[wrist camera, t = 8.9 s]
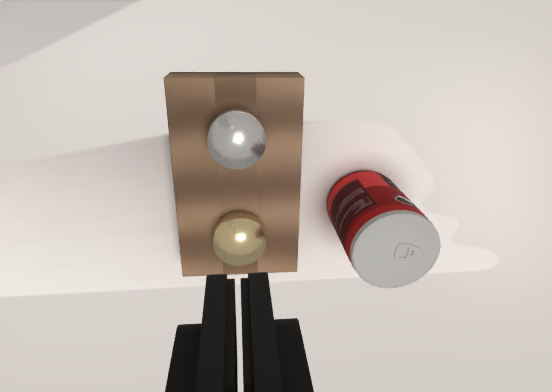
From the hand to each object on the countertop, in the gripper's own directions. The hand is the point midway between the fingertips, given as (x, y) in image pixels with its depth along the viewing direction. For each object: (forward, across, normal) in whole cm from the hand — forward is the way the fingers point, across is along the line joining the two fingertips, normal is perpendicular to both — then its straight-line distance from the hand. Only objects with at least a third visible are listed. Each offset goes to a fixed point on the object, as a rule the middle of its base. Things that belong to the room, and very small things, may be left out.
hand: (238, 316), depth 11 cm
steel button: (+31, 0, +2) cm, 31 cm away
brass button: (+31, 0, +12) cm, 33 cm away
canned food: (+31, -14, +11) cm, 36 cm away
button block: (+31, 0, +7) cm, 32 cm away
